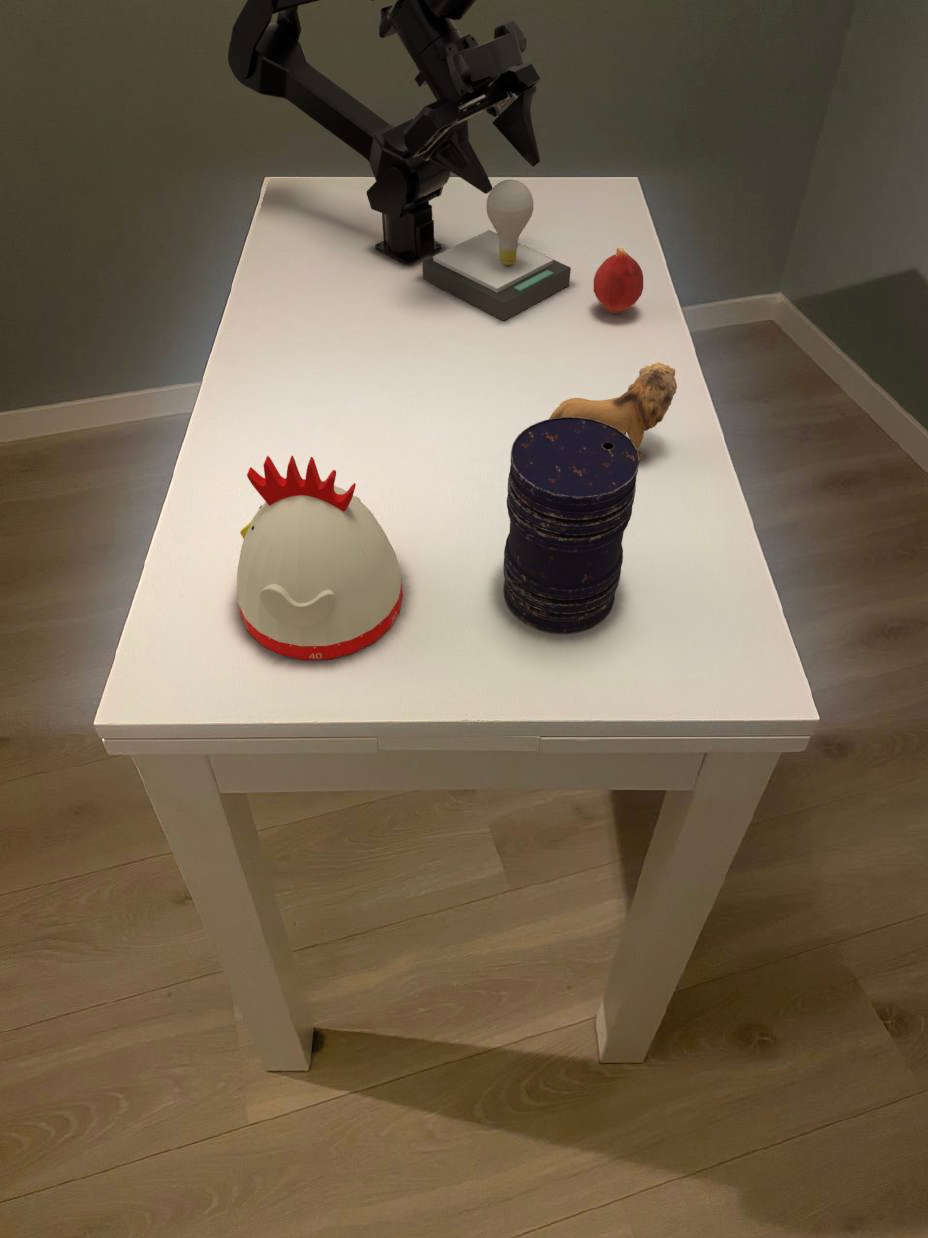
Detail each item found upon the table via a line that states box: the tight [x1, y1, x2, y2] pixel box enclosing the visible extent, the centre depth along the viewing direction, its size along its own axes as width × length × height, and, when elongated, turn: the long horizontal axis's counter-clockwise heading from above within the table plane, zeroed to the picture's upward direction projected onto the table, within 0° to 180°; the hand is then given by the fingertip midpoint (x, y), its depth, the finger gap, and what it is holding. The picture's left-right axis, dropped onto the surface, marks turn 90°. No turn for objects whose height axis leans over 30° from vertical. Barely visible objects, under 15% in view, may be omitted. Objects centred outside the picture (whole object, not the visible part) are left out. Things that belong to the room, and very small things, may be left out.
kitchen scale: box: [422, 229, 572, 322], centre depth 116 cm, size 14×12×3 cm
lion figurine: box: [548, 362, 678, 462], centre depth 91 cm, size 15×5×9 cm, turn 110°
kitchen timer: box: [236, 455, 404, 661], centre depth 75 cm, size 14×14×15 cm
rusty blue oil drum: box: [502, 417, 640, 635], centre depth 76 cm, size 10×10×15 cm
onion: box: [593, 247, 644, 314], centre depth 109 cm, size 6×6×8 cm
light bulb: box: [486, 179, 534, 266], centre depth 110 cm, size 5×6×10 cm
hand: (513, 177), depth 106 cm, fingers open, 9 cm apart
